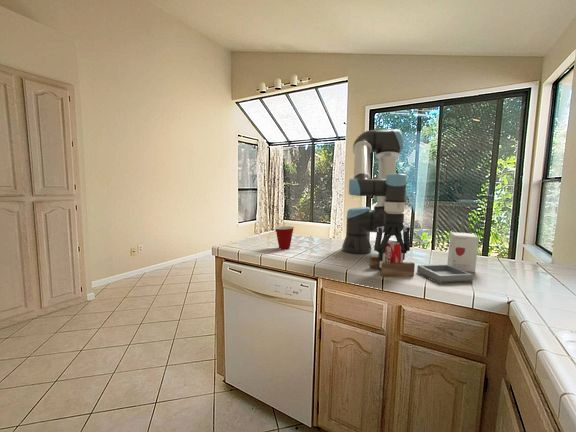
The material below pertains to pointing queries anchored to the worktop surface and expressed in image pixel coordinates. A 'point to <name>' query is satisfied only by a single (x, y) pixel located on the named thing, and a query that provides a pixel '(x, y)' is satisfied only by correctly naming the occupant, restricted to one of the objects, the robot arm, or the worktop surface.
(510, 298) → the worktop surface
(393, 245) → the soda can
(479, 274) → the worktop surface
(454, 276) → the tray
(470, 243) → the supplement box
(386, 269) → the can rack
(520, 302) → the worktop surface
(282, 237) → the plastic cup
